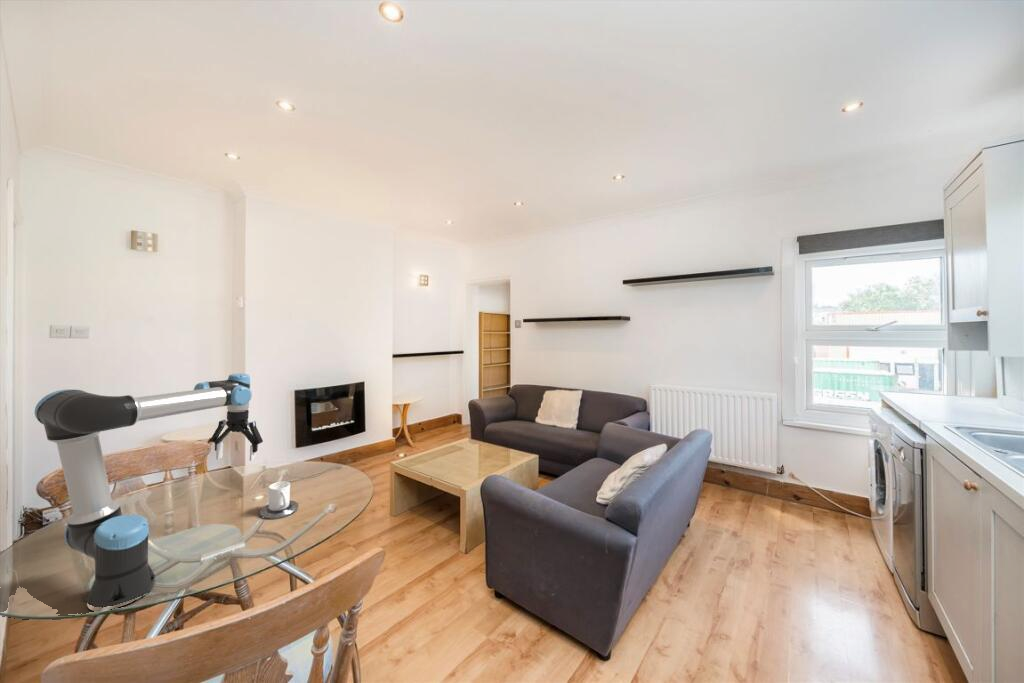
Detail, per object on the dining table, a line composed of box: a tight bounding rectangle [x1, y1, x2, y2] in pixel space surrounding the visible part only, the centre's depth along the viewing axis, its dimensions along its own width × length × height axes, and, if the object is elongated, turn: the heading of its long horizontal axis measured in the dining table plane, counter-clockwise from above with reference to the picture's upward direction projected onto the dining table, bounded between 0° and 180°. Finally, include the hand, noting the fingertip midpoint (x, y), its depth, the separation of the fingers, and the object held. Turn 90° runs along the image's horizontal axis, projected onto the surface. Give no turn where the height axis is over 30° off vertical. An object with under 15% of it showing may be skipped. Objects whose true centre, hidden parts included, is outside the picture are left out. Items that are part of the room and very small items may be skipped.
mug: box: [268, 481, 291, 511], centre depth 172 cm, size 12×8×10 cm
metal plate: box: [259, 500, 299, 520], centre depth 173 cm, size 15×15×1 cm
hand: (235, 458), depth 162 cm, fingers open, 13 cm apart
